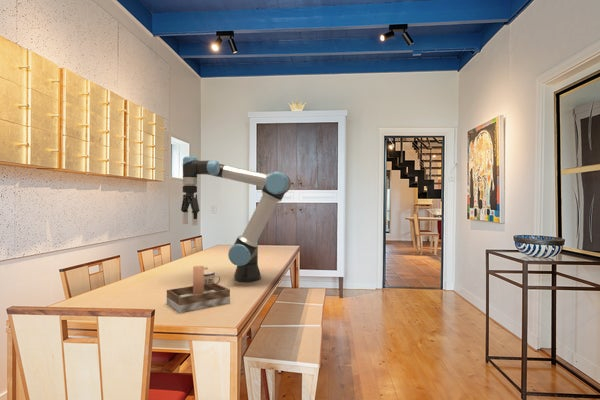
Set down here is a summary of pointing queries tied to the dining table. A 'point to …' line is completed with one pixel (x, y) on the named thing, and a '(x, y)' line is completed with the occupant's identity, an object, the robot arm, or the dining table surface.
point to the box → (197, 297)
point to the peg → (198, 280)
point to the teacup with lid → (209, 276)
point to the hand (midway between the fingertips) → (189, 224)
